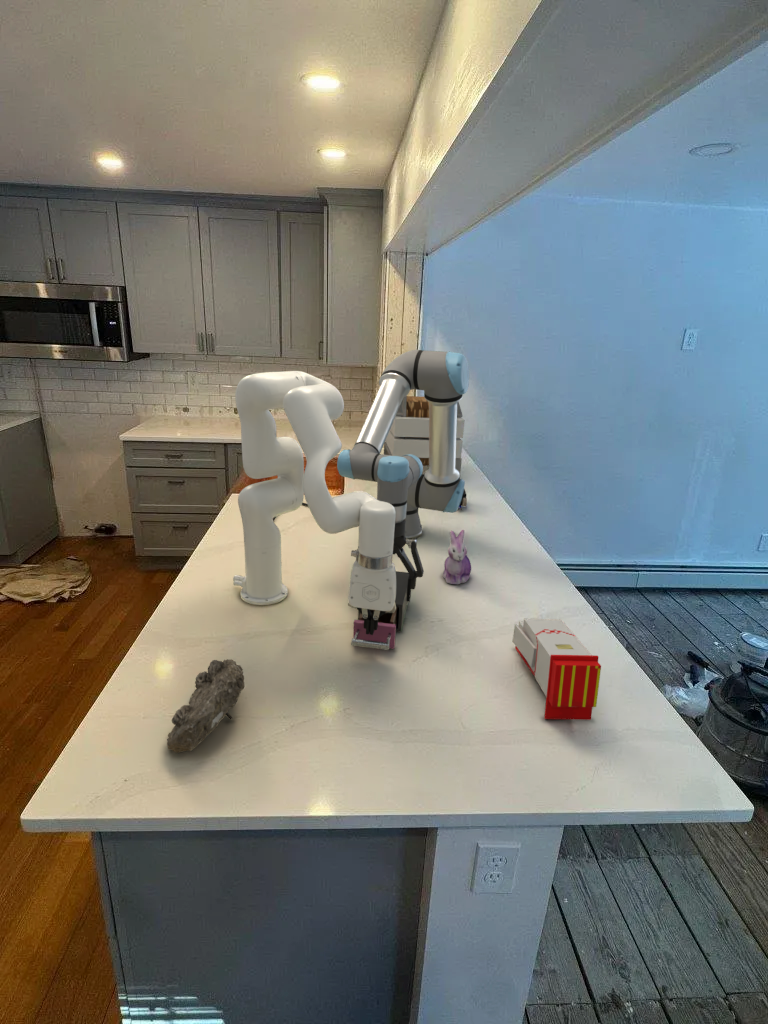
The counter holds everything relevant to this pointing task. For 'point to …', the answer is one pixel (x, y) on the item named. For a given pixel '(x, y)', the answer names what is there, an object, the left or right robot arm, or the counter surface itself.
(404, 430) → the white slatted crate
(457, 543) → the figurine
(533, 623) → the toy
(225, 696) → the fossil
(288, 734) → the counter surface
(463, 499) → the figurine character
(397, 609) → the drawer
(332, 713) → the counter surface
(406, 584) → the cabinet
